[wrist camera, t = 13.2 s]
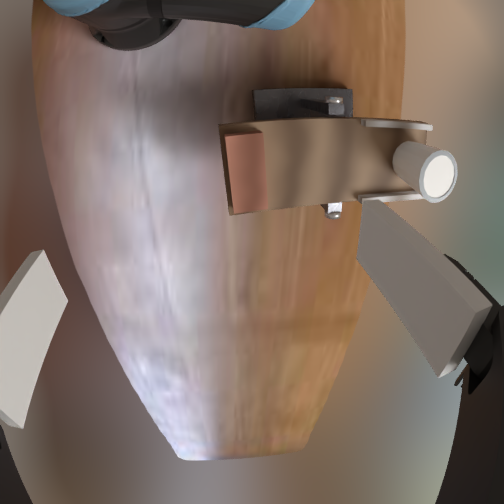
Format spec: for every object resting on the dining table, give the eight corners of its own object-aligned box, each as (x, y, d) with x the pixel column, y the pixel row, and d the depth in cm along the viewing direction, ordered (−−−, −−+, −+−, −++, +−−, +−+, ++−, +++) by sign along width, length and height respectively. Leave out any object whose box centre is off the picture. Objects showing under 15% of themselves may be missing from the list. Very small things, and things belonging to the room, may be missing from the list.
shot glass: (407, 192, 37) (437, 212, 32) (380, 164, 35) (410, 182, 29) (433, 156, 35) (465, 173, 29) (407, 126, 32) (441, 138, 26)
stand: (260, 196, 49) (278, 232, 38) (252, 90, 40) (270, 90, 29) (347, 187, 51) (383, 218, 40) (348, 89, 41) (392, 94, 30)
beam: (228, 207, 38) (230, 222, 34) (218, 123, 32) (219, 128, 28) (410, 188, 40) (426, 200, 36) (416, 119, 34) (435, 126, 31)
